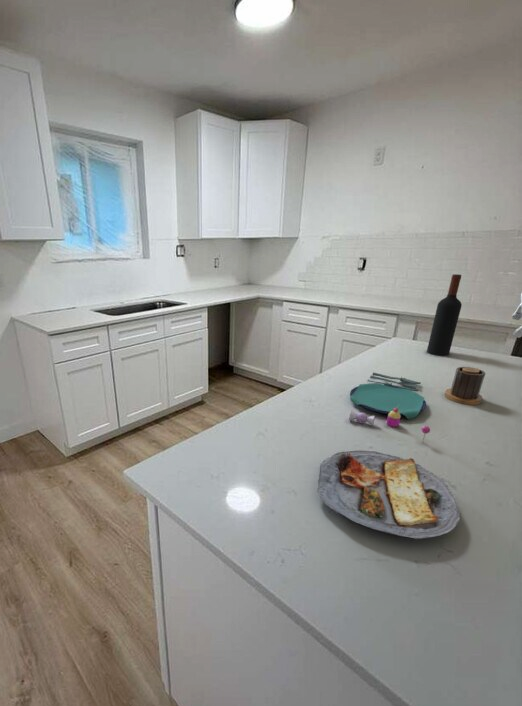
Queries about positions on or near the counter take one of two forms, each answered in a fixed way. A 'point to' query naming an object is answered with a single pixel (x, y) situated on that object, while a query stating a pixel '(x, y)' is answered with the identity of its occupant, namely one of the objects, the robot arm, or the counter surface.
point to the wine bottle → (445, 321)
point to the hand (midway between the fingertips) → (515, 326)
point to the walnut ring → (467, 384)
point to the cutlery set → (389, 396)
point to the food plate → (387, 494)
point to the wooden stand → (461, 400)
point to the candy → (391, 420)
